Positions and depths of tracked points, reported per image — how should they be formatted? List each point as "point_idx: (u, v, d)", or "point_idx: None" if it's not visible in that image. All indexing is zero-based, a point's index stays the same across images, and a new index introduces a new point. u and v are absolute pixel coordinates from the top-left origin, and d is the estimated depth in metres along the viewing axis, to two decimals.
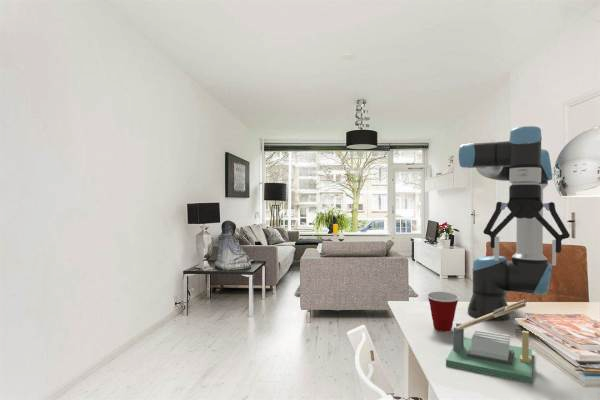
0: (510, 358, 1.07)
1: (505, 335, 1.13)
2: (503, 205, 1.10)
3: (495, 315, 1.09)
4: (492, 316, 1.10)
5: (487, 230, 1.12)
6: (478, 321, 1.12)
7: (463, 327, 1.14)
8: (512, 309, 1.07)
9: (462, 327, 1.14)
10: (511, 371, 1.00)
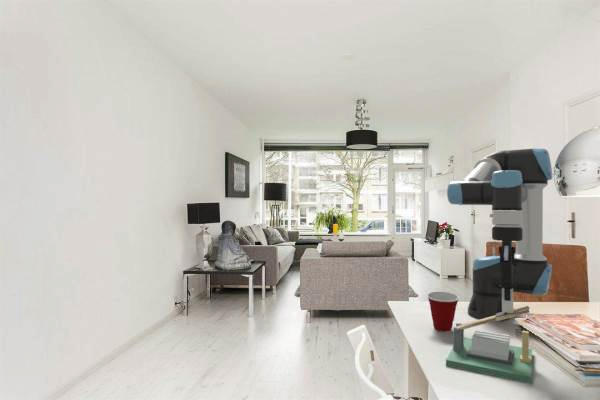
0: (510, 358, 1.07)
1: (505, 335, 1.13)
2: None
3: (497, 319, 1.09)
4: (494, 319, 1.10)
5: None
6: (479, 323, 1.12)
7: (463, 328, 1.14)
8: (515, 314, 1.07)
9: (462, 327, 1.14)
10: (511, 371, 1.00)
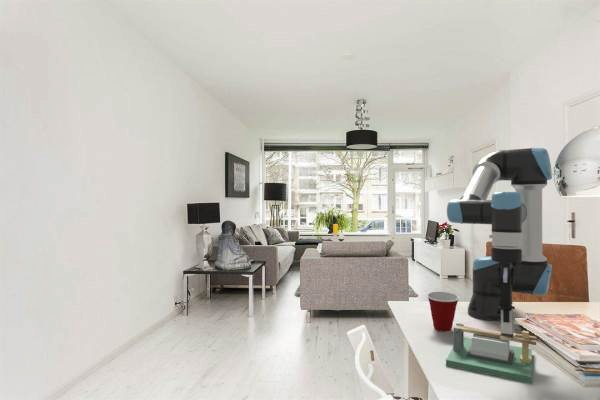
0: (510, 358, 1.07)
1: None
2: None
3: (501, 337, 1.08)
4: (497, 336, 1.10)
5: None
6: (481, 333, 1.12)
7: (464, 330, 1.14)
8: (521, 341, 1.06)
9: (463, 330, 1.14)
10: (511, 371, 1.00)
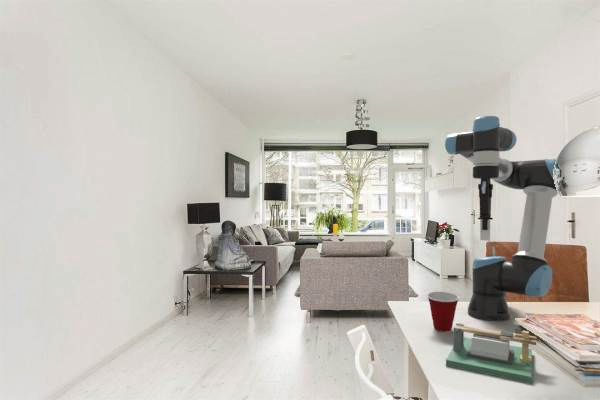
0: (510, 358, 1.07)
1: None
2: None
3: (501, 337, 1.08)
4: (497, 336, 1.10)
5: None
6: (481, 333, 1.12)
7: (464, 330, 1.14)
8: (521, 341, 1.06)
9: (463, 330, 1.14)
10: (511, 371, 1.00)
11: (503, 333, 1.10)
